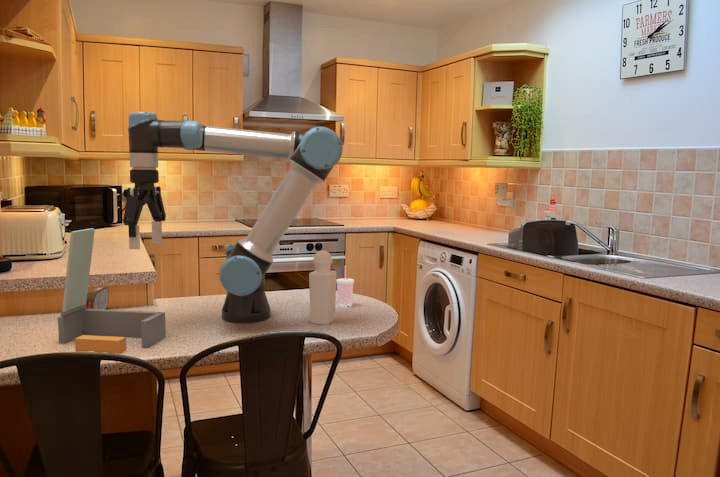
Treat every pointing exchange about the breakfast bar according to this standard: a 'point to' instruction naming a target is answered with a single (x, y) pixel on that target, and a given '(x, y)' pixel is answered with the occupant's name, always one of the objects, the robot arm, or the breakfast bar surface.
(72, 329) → the grey u-shaped bracket
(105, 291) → the tin
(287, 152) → the robot arm
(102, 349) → the orange block
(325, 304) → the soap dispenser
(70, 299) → the cover
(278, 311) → the breakfast bar surface
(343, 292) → the beverage cup
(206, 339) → the breakfast bar surface
